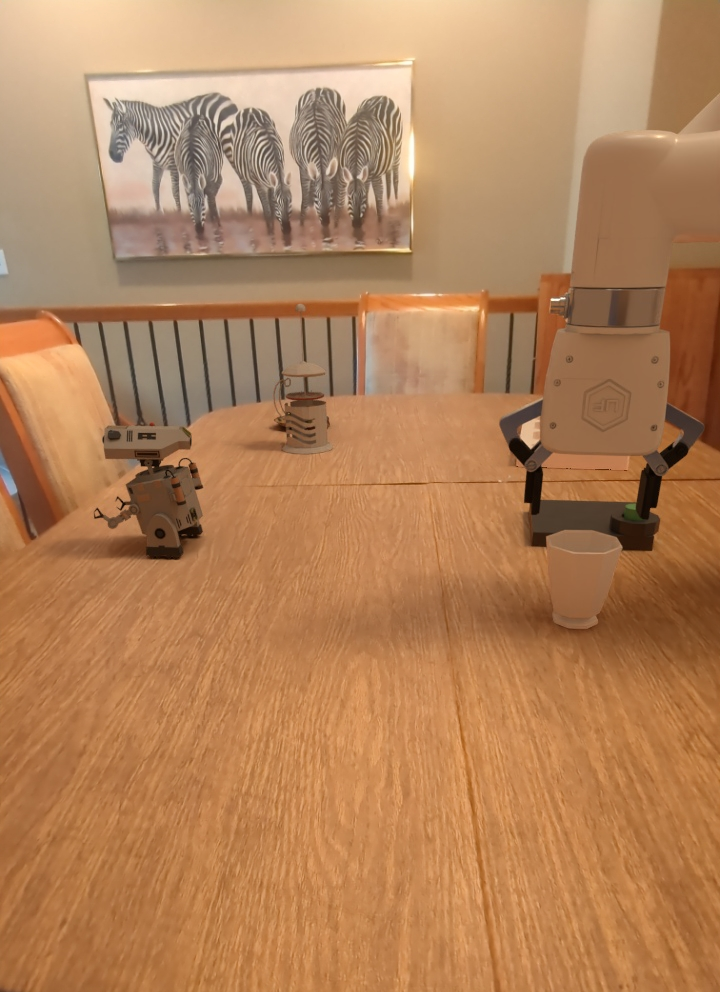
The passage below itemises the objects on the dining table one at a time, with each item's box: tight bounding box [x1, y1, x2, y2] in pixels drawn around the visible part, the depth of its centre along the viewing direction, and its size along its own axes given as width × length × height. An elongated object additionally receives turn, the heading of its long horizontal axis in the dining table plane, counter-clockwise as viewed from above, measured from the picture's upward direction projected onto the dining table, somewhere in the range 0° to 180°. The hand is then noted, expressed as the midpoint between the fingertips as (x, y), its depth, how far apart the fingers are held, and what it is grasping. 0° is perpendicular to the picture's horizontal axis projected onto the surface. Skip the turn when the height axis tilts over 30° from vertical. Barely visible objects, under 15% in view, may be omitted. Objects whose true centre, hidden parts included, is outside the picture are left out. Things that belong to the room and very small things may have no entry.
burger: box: [273, 389, 331, 430], centre depth 159 cm, size 12×12×8 cm
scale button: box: [624, 504, 643, 521], centre depth 90 cm, size 3×3×2 cm
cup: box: [546, 530, 623, 630], centre depth 73 cm, size 7×10×8 cm
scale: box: [528, 499, 661, 552], centre depth 96 cm, size 15×14×4 cm
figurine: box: [93, 422, 204, 560], centre depth 92 cm, size 9×12×15 cm
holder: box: [515, 403, 631, 471], centre depth 144 cm, size 45×18×3 cm, turn 167°
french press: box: [272, 303, 334, 455], centre depth 138 cm, size 10×12×25 cm
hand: (587, 512), depth 70 cm, fingers open, 9 cm apart
